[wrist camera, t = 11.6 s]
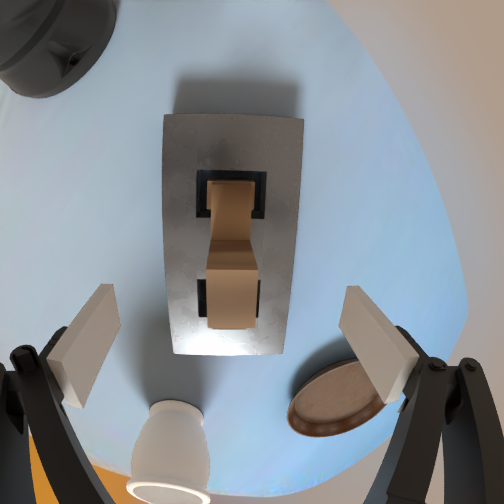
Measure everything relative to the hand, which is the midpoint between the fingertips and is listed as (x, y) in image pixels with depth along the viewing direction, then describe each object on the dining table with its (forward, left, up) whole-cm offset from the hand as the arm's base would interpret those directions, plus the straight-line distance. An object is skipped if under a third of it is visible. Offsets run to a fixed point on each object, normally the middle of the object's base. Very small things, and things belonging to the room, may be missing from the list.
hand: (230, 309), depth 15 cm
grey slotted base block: (0, 0, -15) cm, 15 cm away
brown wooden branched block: (0, 0, -15) cm, 15 cm away
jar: (+28, -8, -15) cm, 33 cm away
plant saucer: (+24, +17, -15) cm, 33 cm away
